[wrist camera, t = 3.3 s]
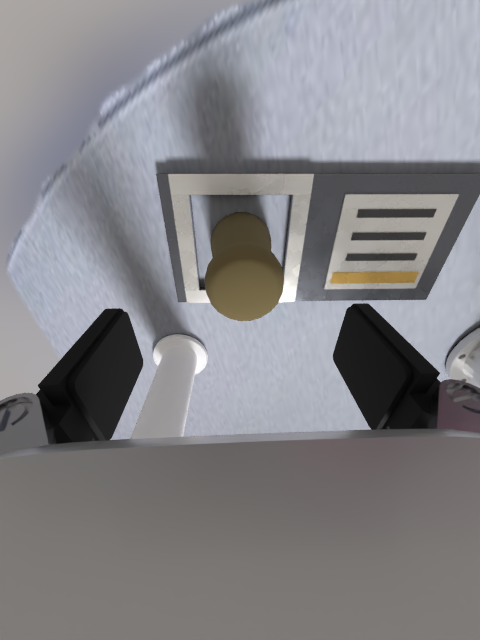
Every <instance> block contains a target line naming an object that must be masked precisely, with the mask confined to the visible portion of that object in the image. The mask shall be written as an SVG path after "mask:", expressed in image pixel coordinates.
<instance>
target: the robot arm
mask: <svg viewBox="0 0 480 640" xmlns="http://www.w3.org/2000/svg"><path fill="white" fill-rule="evenodd" d="M333 360H334V363H335V364H336V366H337V368H338V370H339V372H340V374H341V375H342V377H343V379H344V381H345V383H346V385H347V386H348V388H349V390H350V392H351V394H352V396H353V398H354V399H355V401H356V403H357V405H358V407H359V409H360V410H361V412H362V414H363V416H364V418H365V420H366V421H367V423H368V425H369V427H370V428H371V429H372V430H348V431H318V432H290V433H264V434H238V435H213V436H190V437H167V438H144V439H122V440H110V439H111V438H112V436H113V434H114V431H115V429H116V427H117V424H118V422H119V420H120V417H121V415H122V413H123V411H124V408H125V406H126V404H127V401H128V399H129V397H130V395H131V392H132V390H133V388H134V385H135V383H136V381H137V378H138V376H139V374H140V372H141V369H142V367H143V358H142V355H141V352H140V349H139V346H138V343H137V340H136V337H135V333H134V330H133V327H132V324H131V321H130V318H129V315H128V313H127V312H124V311H123V310H122V309H105V310H104V311H103V312H102V313H101V314H100V316H99V317H98V318H97V319H96V320H95V321H94V322H93V324H92V325H91V326H90V327H89V328H88V329H87V330H86V331H85V333H84V334H83V335H82V336H81V337H80V338H79V339H78V341H77V342H76V343H75V344H74V345H73V346H72V347H71V349H70V350H69V351H68V352H67V353H66V354H65V355H64V356H63V358H62V359H61V360H60V361H59V362H58V363H57V364H56V366H55V367H54V368H53V369H52V370H51V372H49V374H48V375H47V376H46V377H45V378H44V379H43V380H42V381H41V383H40V384H39V385H38V387H39V388H40V390H39V392H38V393H37V394H36V395H35V394H32V393H22V394H16V395H13V396H10V397H8V398H5V399H3V400H1V401H0V640H480V327H479V328H478V329H476V330H474V331H473V332H471V333H470V334H469V335H467V336H466V337H465V338H464V339H462V340H461V341H460V342H459V343H458V344H457V345H456V346H455V347H454V349H453V350H452V351H451V353H450V355H449V357H448V359H447V362H446V372H447V374H448V376H449V377H450V378H451V379H449V380H444V381H442V382H440V381H439V380H438V379H437V377H438V375H439V374H440V373H439V372H438V371H437V370H436V369H435V368H434V367H433V366H432V365H431V364H430V363H429V362H428V361H427V360H426V359H425V358H424V357H423V356H422V355H421V354H420V353H419V352H418V351H417V350H416V349H415V348H414V347H413V346H412V345H411V344H410V343H408V342H407V341H406V340H405V339H404V338H403V337H402V336H401V335H400V334H399V333H398V332H397V331H396V330H395V329H394V328H393V327H392V326H391V325H390V324H389V323H388V322H387V321H386V320H385V319H384V318H383V317H382V316H381V315H380V314H379V313H378V312H377V311H376V310H374V309H373V308H372V307H371V306H370V305H369V304H353V305H352V306H351V307H349V308H348V309H347V311H346V314H345V317H344V320H343V324H342V327H341V330H340V333H339V337H338V340H337V343H336V346H335V350H334V353H333ZM478 387H479V388H478Z"/></svg>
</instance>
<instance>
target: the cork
mask: <svg viewBox="0 0 480 640" xmlns="http://www.w3.org/2000/svg"><path fill="white" fill-rule="evenodd" d="M211 249H212V256H213V258H212V260H211V261H210V263H209V264H208V267H207V271H206V275H205V289H206V294H207V296H208V298H209V300H210V302H211V304H212V305H213V307H214V308H215V309H216V310H217V311H218V312H219V313H221V314H223V315H224V316H226V317H228V318H230V319H234V320H238V321H251V320H254V319H258V318H261V317H262V316H264V315H266V314H267V313H269V312H270V311H271V310H272V309H273V308H274V307H275V306H276V305H277V304H278V302H279V300H280V298H281V296H282V293H283V286H284V275H283V271H282V267H281V265H280V263H279V261H278V260H277V258H276V257H275V255H274V254H273V253H272V252H271V238H270V234H269V230H268V229H267V227H266V225H265V224H264V222H263V221H262V220H260V219H259V218H258V217H257V216H255V215H252V214H249V213H247V212H235V213H233V214H230V215H227V216H225V217H224V218H223V219H222V220H221V221H219V222H218V224H217V225H216V227H215V229H214V230H213V233H212V238H211Z"/></svg>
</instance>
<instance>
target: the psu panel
mask: <svg viewBox="0 0 480 640" xmlns="http://www.w3.org/2000/svg"><path fill="white" fill-rule="evenodd" d="M156 175H157V181H158V187H159V193H160V199H161V204H162V210H163V216H164V222H165V228H166V234H167V239H168V245H169V251H170V257H171V263H172V269H173V275H174V280H175V286H176V292H177V298H178V302H187V303H211V302H210V300H209V298H208V296H207V294H206V289H205V286H204V287H200V279H199V269H198V260H197V250H196V241H195V231H194V222H193V212H192V203H191V195H291V200H290V209H289V219H288V228H287V237H286V246H285V255H284V265H283V275H284V286H283V293H282V296H281V298H280V300H279V302H295V301H335V300H426V299H427V297H428V295H429V293H430V291H431V289H432V287H433V285H434V283H435V281H436V279H437V277H438V275H439V273H440V271H441V269H442V267H443V265H444V263H445V261H446V259H447V257H448V255H449V253H450V251H451V249H452V248H453V246H454V244H455V242H456V240H457V238H458V236H459V234H460V232H461V230H462V228H463V226H464V224H465V222H466V220H467V218H468V216H469V214H470V212H471V210H472V208H473V206H474V204H475V202H476V200H477V198H478V196H479V194H480V174H156Z"/></svg>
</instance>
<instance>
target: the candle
mask: <svg viewBox="0 0 480 640" xmlns="http://www.w3.org/2000/svg"><path fill="white" fill-rule="evenodd" d="M153 357H154V360H155V363H156V364H157V365H158V369H157V371H156V374H155V377H154V379H153V382H152V384H151V387H150V389H149V392H148V395H147V397H146V400H145V402H144V405H143V408H142V410H141V413H140V415H139V418H138V420H137V423H136V426H135V428H134V431H133V433H132V436H131V438H130V439H144V438H167V437H183V433H184V428H185V423H186V417H187V412H188V407H189V402H190V397H191V392H192V387H193V381H194V376H195V374H198V373H199V372H201V371H202V370H203V369H204V368H205V366H206V364H207V359H208V355H207V351H206V349H205V347H204V346H203V345H202V343H200V342H199V341H198V340H196V339H195V338H193V337H190V336H187V335H181V334H175V335H169V336H166V337H164V338H162V339H161V340H160V341H159V342H158V343H157V344H156V346H155V348H154V351H153Z"/></svg>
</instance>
